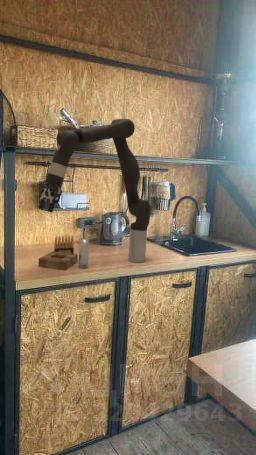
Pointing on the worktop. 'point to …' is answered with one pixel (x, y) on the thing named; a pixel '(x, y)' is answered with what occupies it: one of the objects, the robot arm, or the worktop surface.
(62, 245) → the ammunition clip
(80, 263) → the steel pin
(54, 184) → the robot arm
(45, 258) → the walnut socket block
